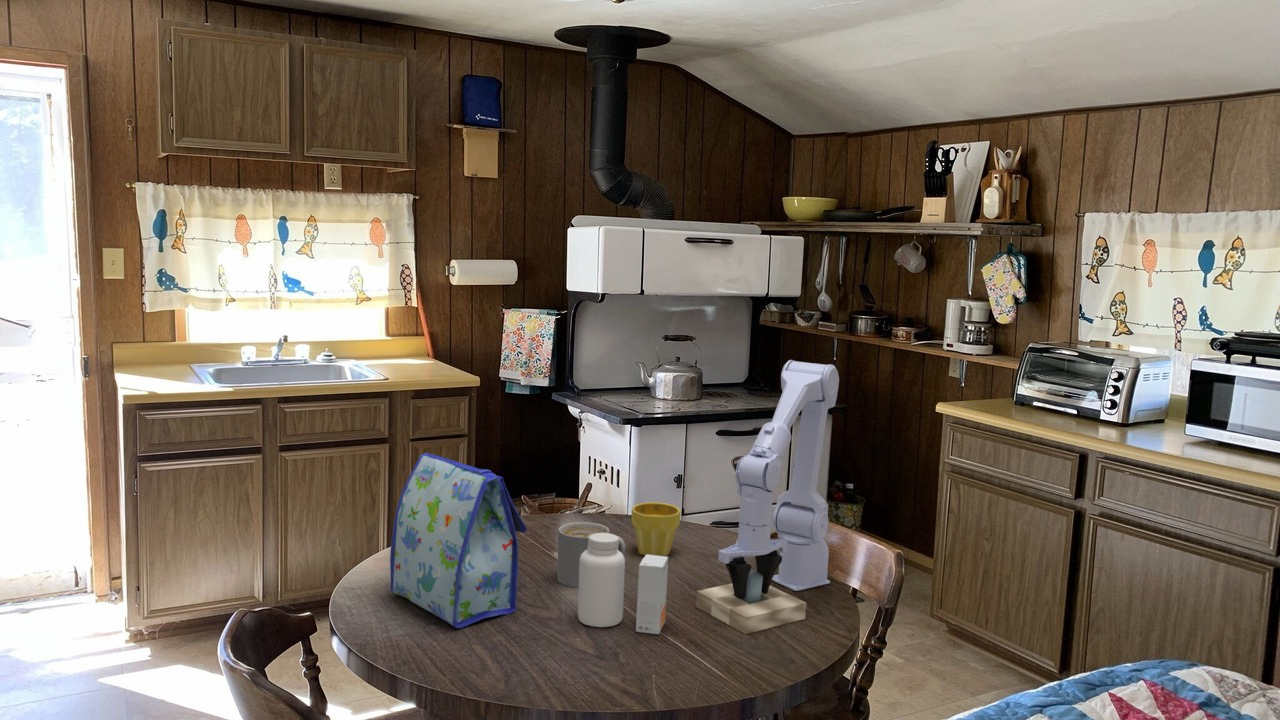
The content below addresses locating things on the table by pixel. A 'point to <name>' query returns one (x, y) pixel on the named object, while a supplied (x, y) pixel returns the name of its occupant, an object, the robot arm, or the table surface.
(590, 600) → the pill bottle
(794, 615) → the socket block
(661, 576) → the skincare box
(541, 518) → the table surface
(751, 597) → the peg
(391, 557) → the lunch bag
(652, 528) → the plant pot
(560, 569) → the coffee mug
